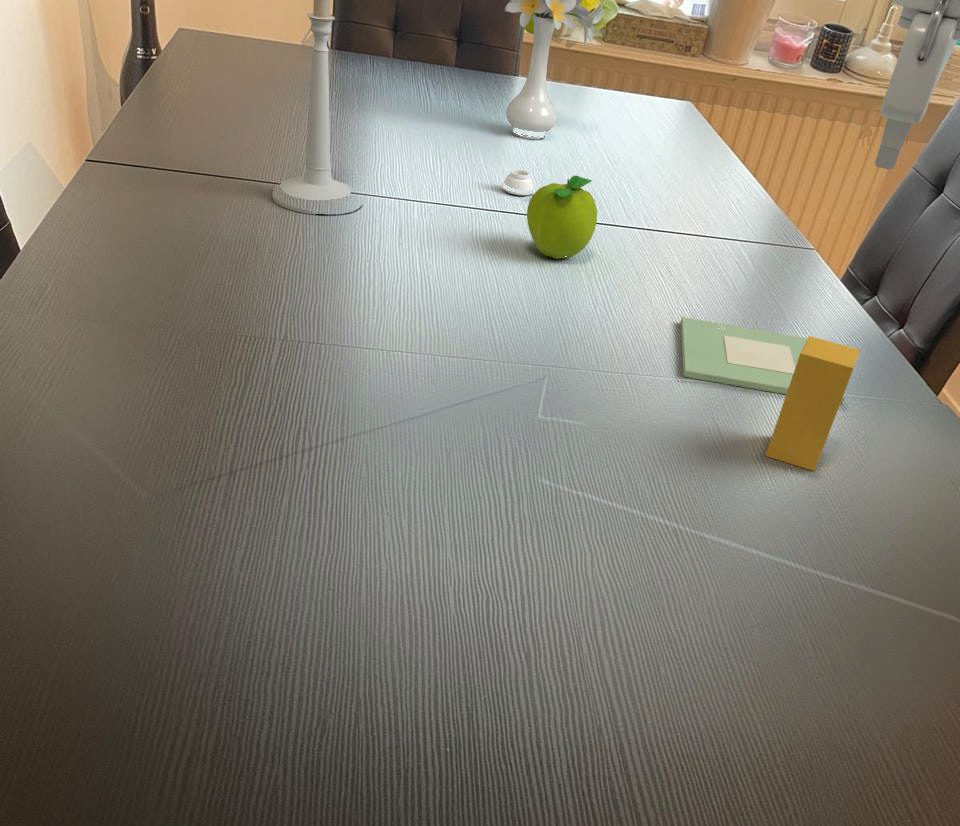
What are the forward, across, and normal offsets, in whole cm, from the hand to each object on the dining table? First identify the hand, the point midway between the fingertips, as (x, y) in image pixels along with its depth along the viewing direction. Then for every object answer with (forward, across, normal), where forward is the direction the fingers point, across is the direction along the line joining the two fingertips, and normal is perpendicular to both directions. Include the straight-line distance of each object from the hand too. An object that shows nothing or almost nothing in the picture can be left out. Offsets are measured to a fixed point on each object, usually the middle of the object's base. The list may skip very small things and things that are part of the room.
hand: (888, 156), depth 98 cm
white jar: (+26, +47, +53) cm, 75 cm away
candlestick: (+26, +20, +74) cm, 81 cm away
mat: (+25, +7, +6) cm, 27 cm away
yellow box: (+25, -14, -1) cm, 29 cm away
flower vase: (+26, +82, +64) cm, 107 cm away
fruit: (+26, +24, +38) cm, 52 cm away
